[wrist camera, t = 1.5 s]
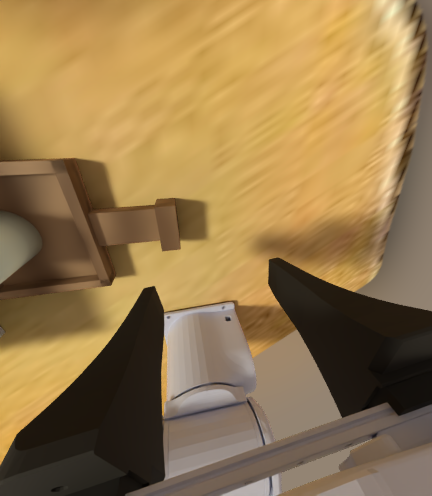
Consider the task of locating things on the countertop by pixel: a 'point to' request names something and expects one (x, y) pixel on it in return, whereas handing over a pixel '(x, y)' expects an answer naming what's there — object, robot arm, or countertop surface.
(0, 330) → the large grey box
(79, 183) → the tray
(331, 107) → the countertop surface
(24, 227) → the cream rounded block
